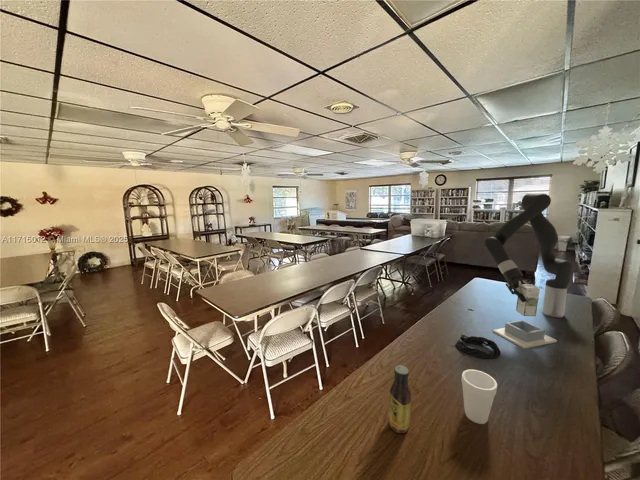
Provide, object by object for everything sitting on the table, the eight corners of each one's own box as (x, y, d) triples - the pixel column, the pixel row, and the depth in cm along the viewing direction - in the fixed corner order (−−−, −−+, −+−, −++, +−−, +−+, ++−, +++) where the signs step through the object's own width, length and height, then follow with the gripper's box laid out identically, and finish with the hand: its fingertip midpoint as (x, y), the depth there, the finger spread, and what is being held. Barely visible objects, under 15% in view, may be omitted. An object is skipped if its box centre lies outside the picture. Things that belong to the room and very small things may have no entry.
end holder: (523, 326, 138) (524, 316, 137) (556, 342, 122) (558, 331, 122) (493, 331, 133) (493, 321, 132) (524, 348, 118) (525, 337, 117)
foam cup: (480, 432, 77) (483, 394, 74) (453, 409, 85) (455, 374, 83) (500, 421, 80) (504, 384, 78) (472, 400, 89) (475, 366, 87)
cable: (504, 352, 116) (505, 343, 115) (494, 366, 107) (495, 356, 106) (463, 337, 128) (464, 329, 128) (451, 348, 120) (452, 340, 119)
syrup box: (527, 311, 129) (531, 283, 126) (536, 316, 123) (540, 287, 120) (515, 311, 129) (518, 283, 127) (523, 316, 123) (527, 287, 121)
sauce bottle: (385, 418, 82) (386, 362, 79) (404, 416, 83) (406, 360, 80) (392, 437, 76) (394, 376, 73) (413, 434, 76) (415, 374, 73)
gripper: (504, 268, 128) (525, 299, 119) (526, 266, 131) (548, 295, 122) (493, 275, 134) (513, 305, 124) (515, 273, 137) (535, 302, 128)
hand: (530, 300), depth 123 cm, fingers closed on syrup box, 7 cm apart
